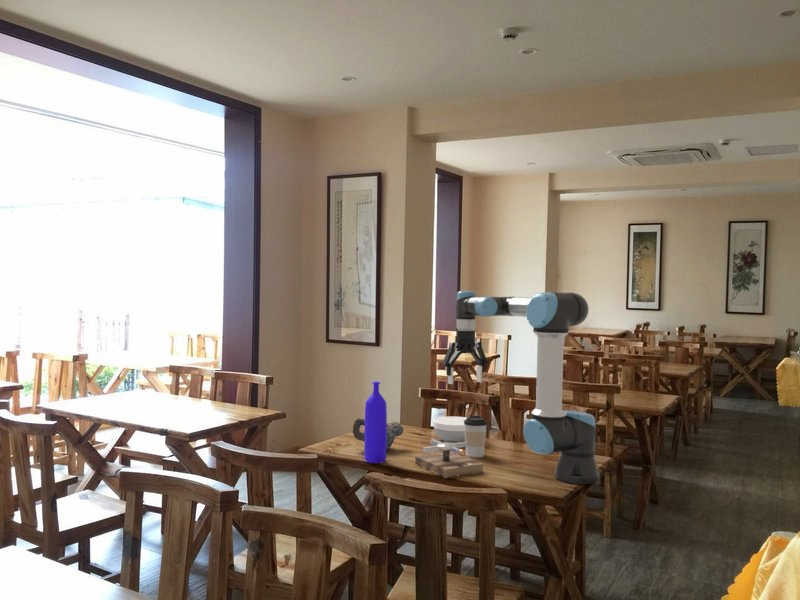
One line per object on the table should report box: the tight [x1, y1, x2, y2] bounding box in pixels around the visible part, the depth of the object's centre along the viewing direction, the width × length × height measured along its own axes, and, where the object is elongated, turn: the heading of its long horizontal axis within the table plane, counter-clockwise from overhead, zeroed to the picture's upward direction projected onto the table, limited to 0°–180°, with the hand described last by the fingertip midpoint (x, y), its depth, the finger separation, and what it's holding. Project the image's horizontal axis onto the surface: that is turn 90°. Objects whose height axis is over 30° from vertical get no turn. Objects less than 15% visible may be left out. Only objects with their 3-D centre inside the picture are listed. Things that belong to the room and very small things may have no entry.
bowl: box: [432, 415, 468, 443], centre depth 291 cm, size 19×19×9 cm
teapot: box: [352, 417, 405, 450], centre depth 275 cm, size 21×12×15 cm, turn 108°
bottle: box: [363, 380, 388, 464], centre depth 256 cm, size 8×8×30 cm
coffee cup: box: [464, 415, 488, 458], centre depth 267 cm, size 9×9×15 cm
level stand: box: [414, 451, 484, 479], centre depth 247 cm, size 20×16×7 cm
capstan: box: [422, 439, 469, 457], centre depth 246 cm, size 21×19×2 cm
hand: (464, 382), depth 272 cm, fingers open, 13 cm apart
